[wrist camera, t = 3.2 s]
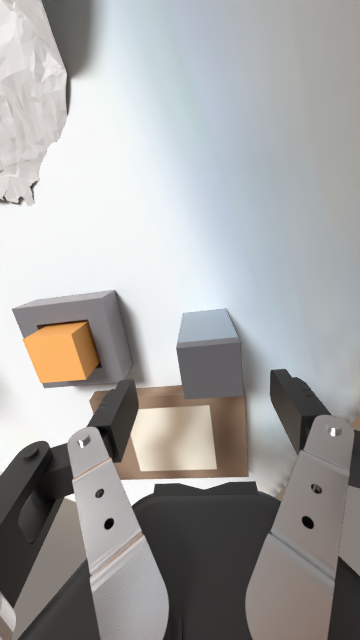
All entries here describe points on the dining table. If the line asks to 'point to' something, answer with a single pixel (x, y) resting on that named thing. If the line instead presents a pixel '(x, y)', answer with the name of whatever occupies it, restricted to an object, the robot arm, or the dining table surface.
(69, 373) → the button
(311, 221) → the dining table surface
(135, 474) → the drawing board
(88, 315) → the button housing
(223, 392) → the grey rectangular box
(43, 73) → the paper
